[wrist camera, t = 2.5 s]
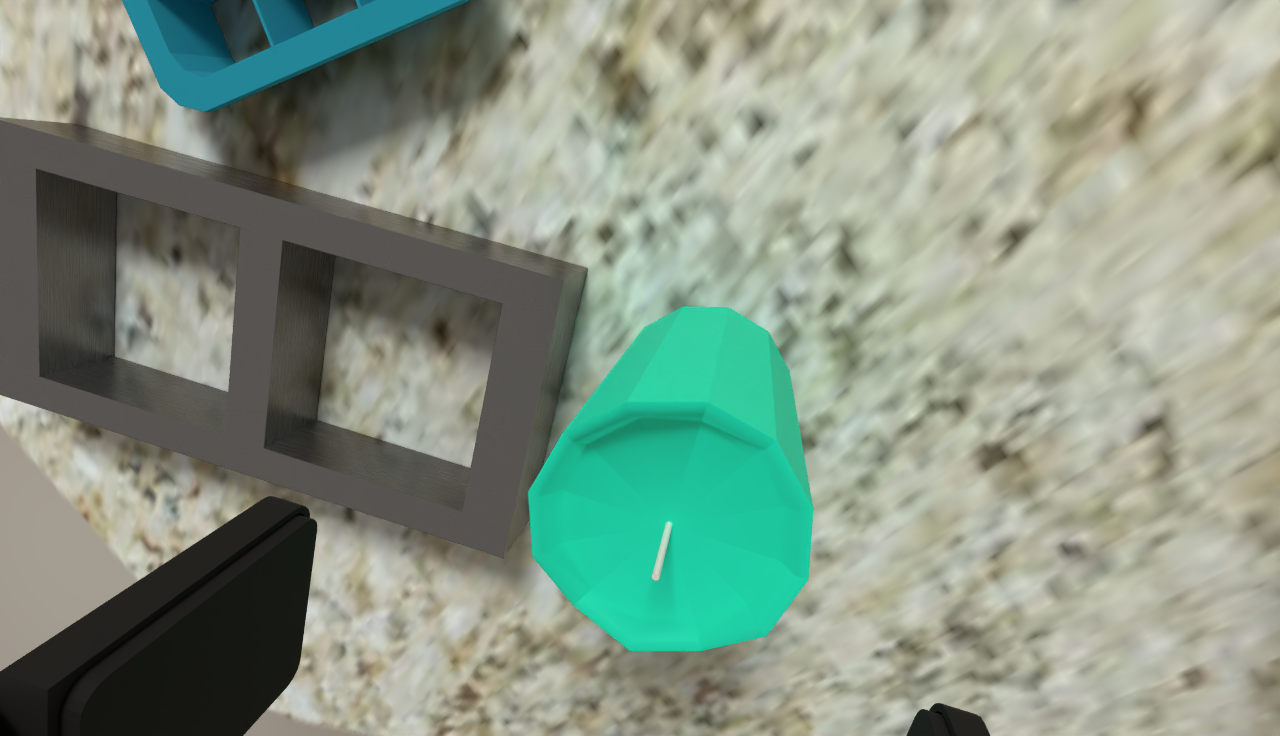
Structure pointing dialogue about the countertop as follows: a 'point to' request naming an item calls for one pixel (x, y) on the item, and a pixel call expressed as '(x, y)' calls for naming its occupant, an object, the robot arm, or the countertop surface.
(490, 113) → the countertop surface
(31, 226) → the hollow block
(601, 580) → the candle
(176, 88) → the ice cube tray
